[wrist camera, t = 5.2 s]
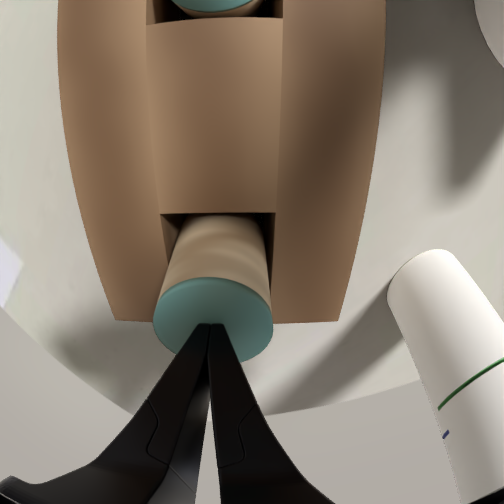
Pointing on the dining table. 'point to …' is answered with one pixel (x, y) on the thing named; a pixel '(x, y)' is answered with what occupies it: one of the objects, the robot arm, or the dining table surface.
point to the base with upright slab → (492, 25)
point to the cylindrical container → (456, 364)
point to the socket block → (222, 138)
